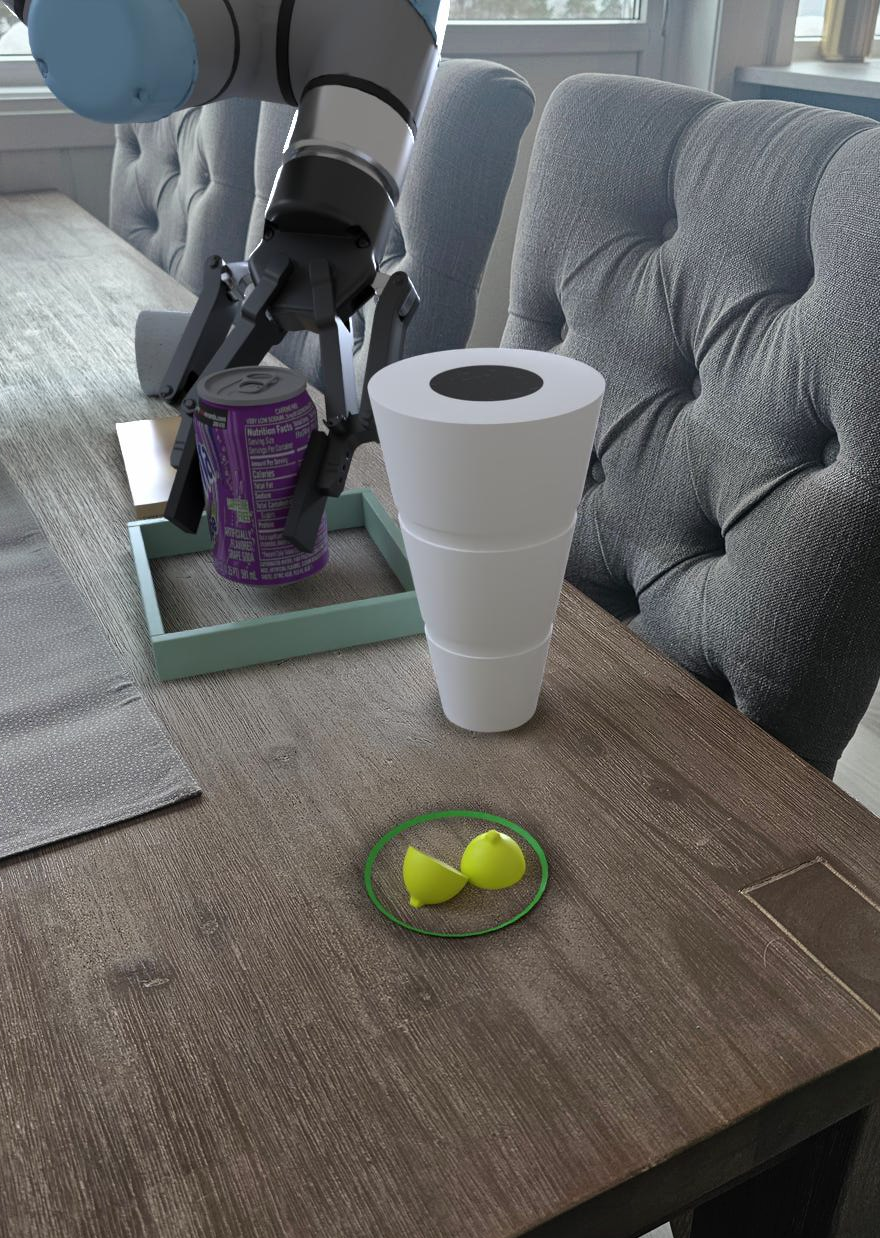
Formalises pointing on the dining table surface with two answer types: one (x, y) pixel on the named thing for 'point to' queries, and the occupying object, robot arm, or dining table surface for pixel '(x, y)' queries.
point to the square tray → (281, 631)
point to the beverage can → (255, 472)
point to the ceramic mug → (157, 345)
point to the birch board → (149, 462)
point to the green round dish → (482, 865)
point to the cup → (487, 511)
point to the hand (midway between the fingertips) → (237, 534)
